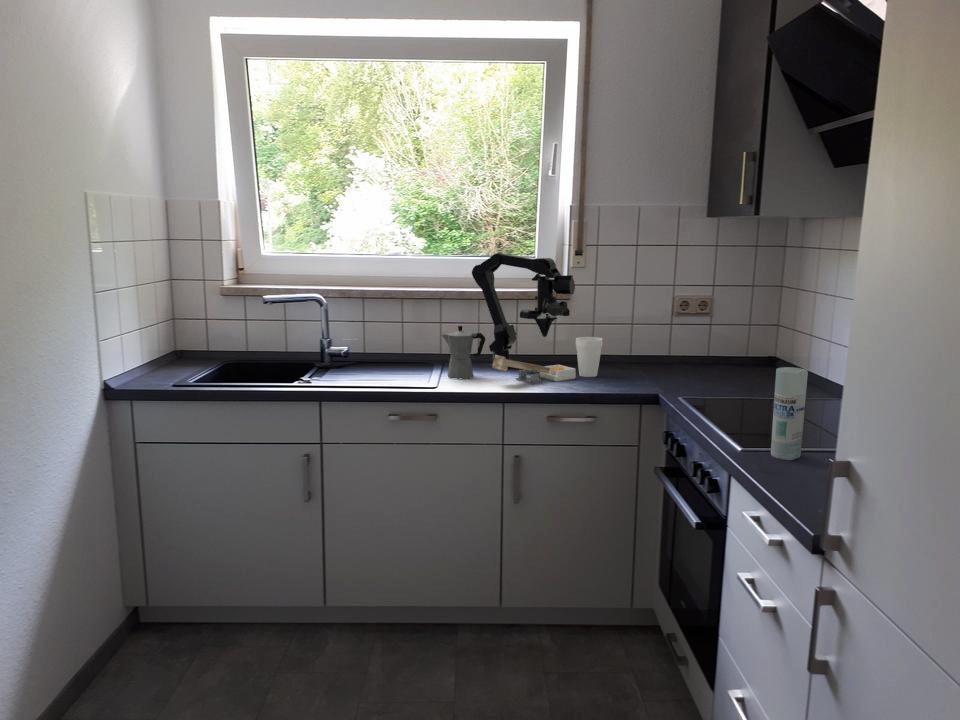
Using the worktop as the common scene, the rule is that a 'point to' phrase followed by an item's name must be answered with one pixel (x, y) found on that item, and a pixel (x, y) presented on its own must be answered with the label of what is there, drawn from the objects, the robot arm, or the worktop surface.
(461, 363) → the coffeepot
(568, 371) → the dish
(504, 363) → the lever
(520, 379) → the fulcrum
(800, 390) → the spray paint can
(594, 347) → the foam cup
